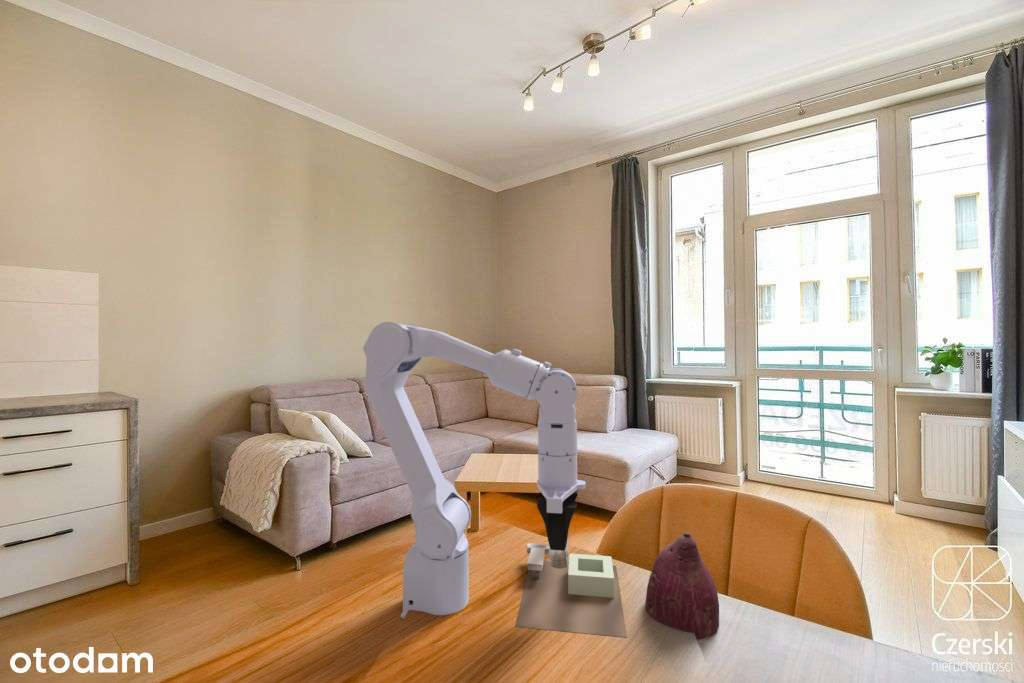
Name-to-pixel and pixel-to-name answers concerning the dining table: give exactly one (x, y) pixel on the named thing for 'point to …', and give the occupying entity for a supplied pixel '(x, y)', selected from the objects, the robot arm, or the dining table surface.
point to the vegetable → (683, 590)
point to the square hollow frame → (590, 575)
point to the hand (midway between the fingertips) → (558, 544)
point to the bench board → (565, 601)
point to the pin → (559, 558)
